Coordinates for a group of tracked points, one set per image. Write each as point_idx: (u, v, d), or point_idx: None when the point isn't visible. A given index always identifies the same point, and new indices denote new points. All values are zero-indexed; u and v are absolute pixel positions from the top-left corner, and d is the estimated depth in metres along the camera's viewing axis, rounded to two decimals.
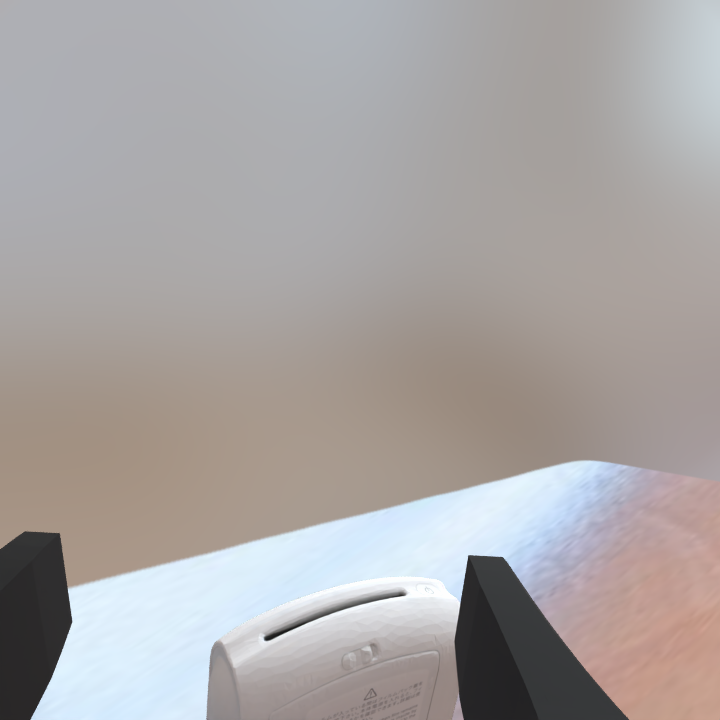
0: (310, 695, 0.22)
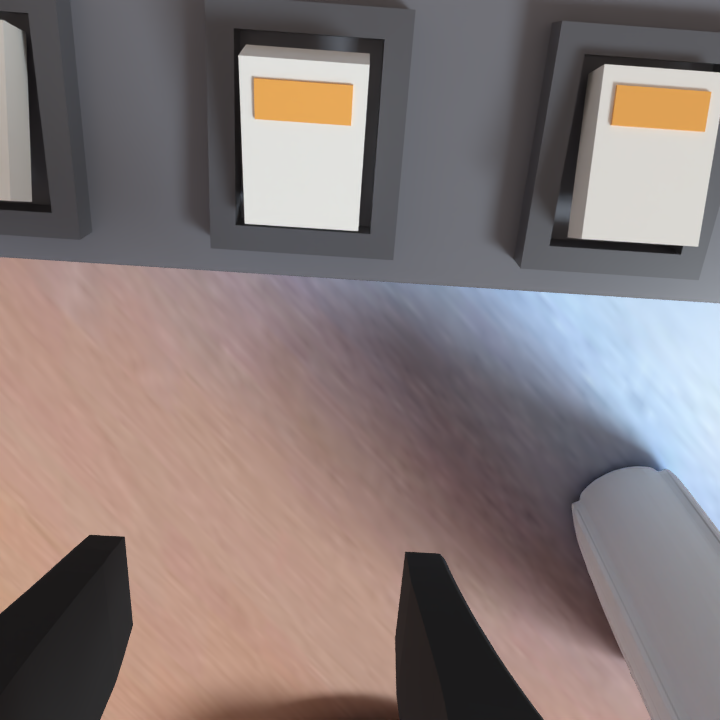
0: None
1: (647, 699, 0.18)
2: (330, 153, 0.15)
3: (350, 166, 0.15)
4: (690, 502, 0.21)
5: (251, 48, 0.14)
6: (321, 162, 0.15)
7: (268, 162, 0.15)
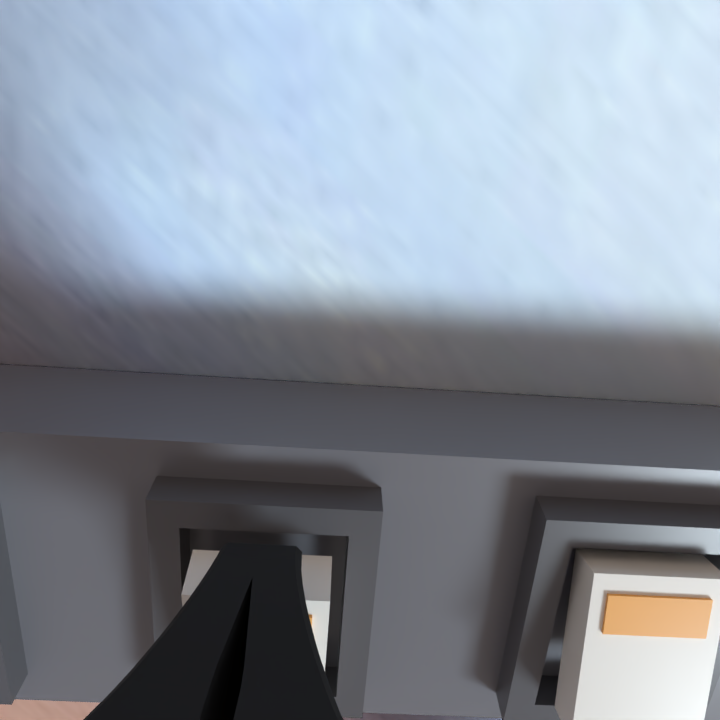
0: None
1: None
2: None
3: None
4: None
5: (198, 564, 0.12)
6: None
7: None
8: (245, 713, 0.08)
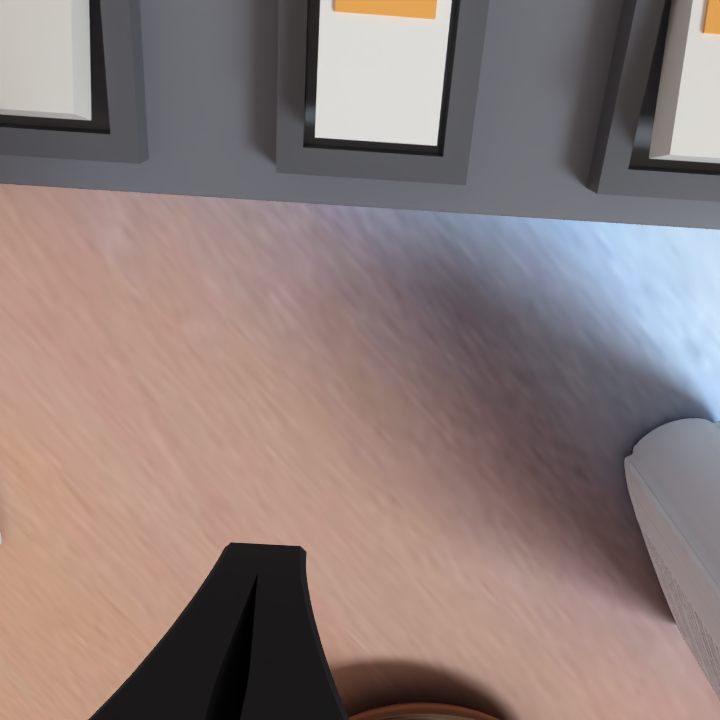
0: None
1: None
2: (412, 52, 0.14)
3: (432, 68, 0.14)
4: None
5: None
6: (401, 62, 0.14)
7: (345, 63, 0.14)
8: (252, 713, 0.08)
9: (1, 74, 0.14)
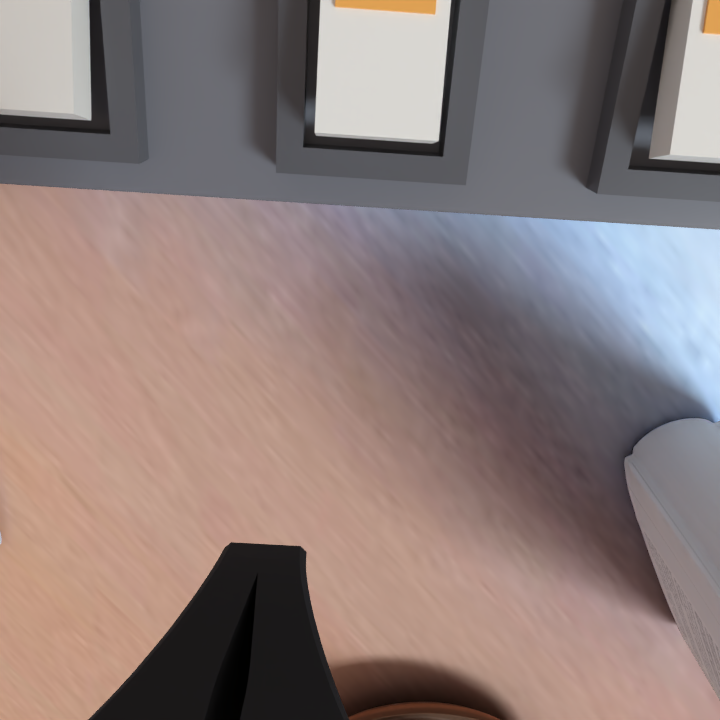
0: None
1: None
2: (412, 47, 0.14)
3: (432, 63, 0.14)
4: None
5: None
6: (401, 57, 0.14)
7: (345, 58, 0.14)
8: (252, 713, 0.08)
9: (1, 74, 0.14)
